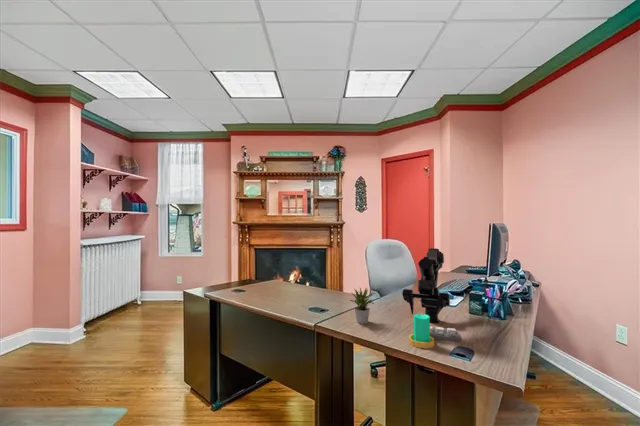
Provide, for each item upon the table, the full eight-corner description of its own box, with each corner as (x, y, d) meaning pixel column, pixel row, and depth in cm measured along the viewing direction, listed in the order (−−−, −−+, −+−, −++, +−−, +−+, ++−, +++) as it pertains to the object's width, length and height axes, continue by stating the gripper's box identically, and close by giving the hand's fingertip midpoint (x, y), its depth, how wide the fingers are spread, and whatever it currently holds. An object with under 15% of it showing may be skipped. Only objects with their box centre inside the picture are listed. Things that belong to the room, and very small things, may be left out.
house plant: (378, 329, 135) (377, 291, 135) (346, 326, 137) (346, 290, 138) (378, 318, 149) (378, 285, 149) (349, 317, 151) (349, 283, 152)
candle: (432, 342, 120) (431, 311, 120) (427, 347, 115) (426, 315, 115) (417, 339, 123) (416, 309, 124) (411, 343, 119) (411, 312, 119)
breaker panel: (422, 329, 134) (422, 324, 134) (456, 333, 130) (456, 327, 130) (423, 337, 125) (423, 331, 125) (460, 341, 121) (460, 335, 121)
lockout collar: (408, 337, 125) (408, 332, 125) (432, 340, 122) (432, 335, 122) (409, 346, 116) (409, 341, 116) (435, 349, 113) (435, 344, 113)
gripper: (402, 270, 134) (397, 301, 124) (449, 273, 126) (447, 307, 116) (406, 284, 141) (401, 315, 131) (450, 288, 133) (449, 322, 123)
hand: (423, 315), depth 125 cm, fingers open, 9 cm apart
